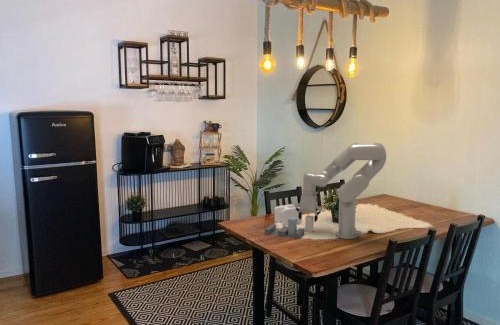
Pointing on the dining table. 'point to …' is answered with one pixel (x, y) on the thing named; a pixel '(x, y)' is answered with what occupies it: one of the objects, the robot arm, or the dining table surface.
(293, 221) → the slate plug
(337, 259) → the dining table surface
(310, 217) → the cream plug
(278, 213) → the cable organizer
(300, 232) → the grey blocky pieces
